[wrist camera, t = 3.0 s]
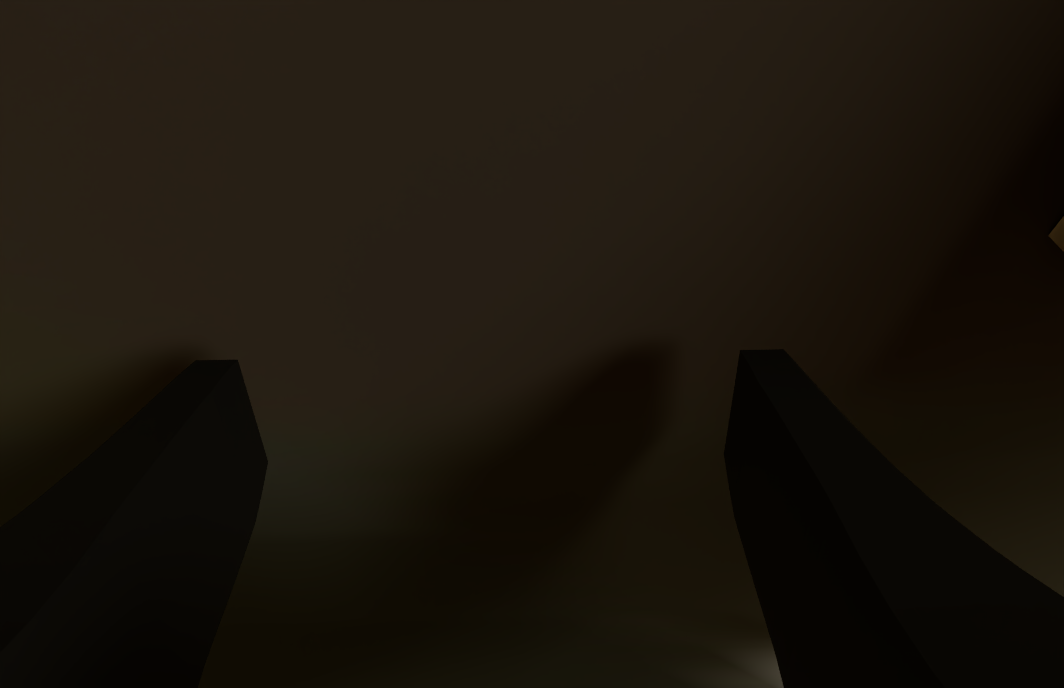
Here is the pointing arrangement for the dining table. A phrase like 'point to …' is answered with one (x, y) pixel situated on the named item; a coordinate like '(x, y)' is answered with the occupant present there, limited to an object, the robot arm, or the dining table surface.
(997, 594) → the robot arm
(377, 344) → the dining table surface
